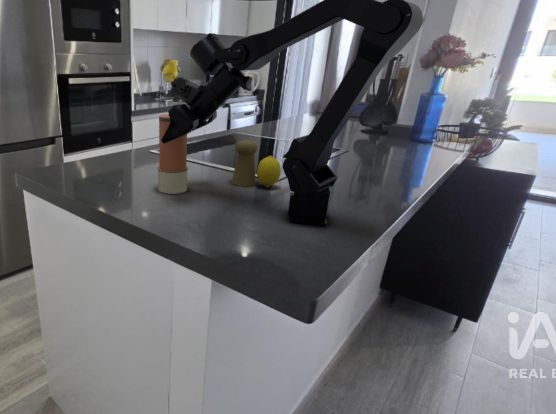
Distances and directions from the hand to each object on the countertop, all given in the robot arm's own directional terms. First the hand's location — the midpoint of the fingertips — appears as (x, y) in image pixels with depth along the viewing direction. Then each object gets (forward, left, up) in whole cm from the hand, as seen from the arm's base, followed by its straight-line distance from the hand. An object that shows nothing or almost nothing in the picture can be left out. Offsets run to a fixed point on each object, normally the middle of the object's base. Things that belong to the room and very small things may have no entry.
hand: (170, 138), depth 91 cm
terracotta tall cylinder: (-1, 0, -7) cm, 7 cm away
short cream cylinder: (-1, 0, -13) cm, 13 cm away
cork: (-17, -11, -13) cm, 24 cm away
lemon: (-23, -9, -13) cm, 28 cm away
